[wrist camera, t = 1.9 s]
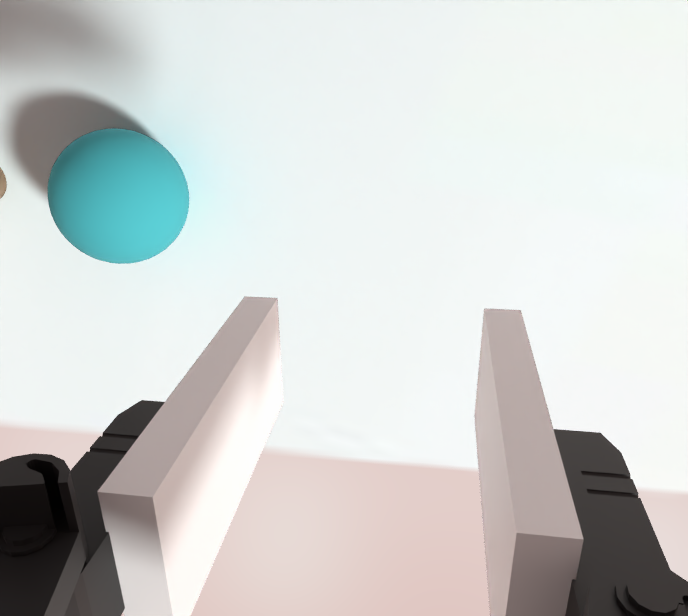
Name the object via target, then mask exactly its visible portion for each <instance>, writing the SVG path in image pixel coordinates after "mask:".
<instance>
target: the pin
mask: <svg viewBox="0 0 688 616" xmlns="http://www.w3.org/2000/svg"><path fill="white" fill-rule="evenodd" d="M5 191H6V178H5V175H4V173H3V171H2V169H1V168H0V198H2V196H3V195H4V194H5Z"/></svg>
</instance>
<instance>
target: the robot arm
mask: <svg viewBox="0 0 688 616" xmlns="http://www.w3.org/2000/svg"><path fill="white" fill-rule="evenodd" d="M282 404H283V387H282V369H281V352H280V335H279V317H278V300H277V298H263V297H244V298H243V299H242V301H241V302H240V303H239V305H238V306H237V307H236V309H235V310H234V311H233V313H232V314H231V315H230V317H229V318H228V319H227V321H226V322H225V323H224V325H223V326H222V327H221V329H220V330H219V331H218V333H217V334H216V335H215V337H214V338H213V339H212V340H211V342H210V343H209V344H208V346H207V347H206V348H205V350H204V351H203V352H202V354H201V355H200V356H199V358H198V359H197V360H196V362H195V363H194V364H193V366H192V367H191V368H190V370H189V371H188V372H187V374H186V375H185V376H184V378H183V379H182V380H181V382H180V383H179V384H178V386H177V387H176V388H175V390H174V391H173V392H172V393H171V395H170V396H169V397H168V399H167V400H166V401H165V402H157V401H144V400H141V401H140V402H138V403H137V404H135V405H133V406H132V407H130V408H129V409H127V410H125V411H124V412H122V413H120V414H119V415H118V416H117V417H116V418H115V419H114V420H113V422H112V423H111V424H110V425H109V426H108V427H107V429H106V430H105V431H104V432H103V436H102V437H101V436H100V437H99V438H98V439H97V440H96V441H95V443H94V444H93V445H92V446H91V447H90V452H86V453H85V454H84V456H83V457H82V458H81V459H80V460H79V461H78V463H77V464H76V465H75V466H74V467H73V468H72V470H71V471H70V469H69V468H68V466H67V465H66V463H65V461H64V460H62V459H60V458H57V457H55V456H53V455H47V454H28V455H22V456H16V457H12V458H9V459H6V460H4V461H1V462H0V616H121V614H122V613H124V616H191V614H192V611H193V609H194V607H195V604H196V602H197V600H198V597H199V595H200V593H201V590H202V588H203V586H204V584H205V581H206V579H207V577H208V574H209V572H210V570H211V567H212V565H213V563H214V561H215V558H216V556H217V554H218V551H219V549H220V547H221V545H222V542H223V540H224V538H225V535H226V533H227V531H228V528H229V526H230V524H231V521H232V519H233V517H234V514H235V512H236V510H237V508H238V505H239V503H240V501H241V499H242V496H243V494H244V492H245V489H246V487H247V485H248V482H249V480H250V478H251V476H252V473H253V471H254V469H255V466H256V464H257V462H258V459H259V457H260V455H261V453H262V450H263V448H264V446H265V443H266V441H267V439H268V436H269V434H270V432H271V430H272V427H273V425H274V423H275V420H276V418H277V416H278V413H279V411H280V409H281V407H282ZM475 429H476V442H477V454H478V467H479V480H480V491H481V505H482V516H483V517H482V518H483V530H484V543H485V555H486V568H487V580H488V593H489V606H490V616H688V582H687V581H686V580H684V579H682V578H681V577H680V576H678V575H676V574H675V573H674V572H672V571H671V570H670V568H669V566H668V563H667V561H666V558H665V556H664V554H663V551H662V549H661V547H660V545H659V542H658V539H657V537H656V535H655V532H654V530H653V528H652V526H651V523H650V520H649V518H648V516H647V513H646V511H645V509H644V506H643V504H642V501H641V499H640V498H638V492H637V489H636V487H635V485H634V482H633V480H632V479H630V473H629V470H628V468H627V466H626V463H625V461H624V459H623V456H622V454H621V452H620V451H619V450H618V449H617V448H616V447H615V446H613V445H612V444H611V443H610V442H609V441H608V440H607V439H606V438H605V437H604V436H603V435H602V434H601V433H596V432H583V431H569V430H556V429H553V426H552V422H551V419H550V415H549V412H548V408H547V404H546V401H545V397H544V393H543V390H542V386H541V382H540V379H539V375H538V372H537V368H536V364H535V361H534V357H533V353H532V350H531V346H530V342H529V339H528V335H527V332H526V328H525V324H524V321H523V317H522V313H521V310H504V309H484V316H483V327H482V339H481V350H480V361H479V372H478V383H477V394H476V405H475Z"/></svg>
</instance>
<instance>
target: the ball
mask: <svg viewBox="0 0 688 616" xmlns="http://www.w3.org/2000/svg"><path fill="white" fill-rule="evenodd" d="M48 202H49V207H50V211H51V214H52V217H53V219H54V221H55V223H56V225H57V227H58V229H59V230H60V232H61V233H62V234H63V235H64V237H65V238H66V239H67V240H68V241H69V242H70V243H71V244H72V245H73V246H75V247H76V248H77V249H79V250H80V251H82V252H83V253H85V254H87V255H89V256H91V257H93V258H95V259H98V260H102V261H106V262H110V263H118V264H120V263H135V262H140V261H143V260H146V259H149V258H151V257H153V256H156V255H157V254H159V253H161V252H162V251H163V250H165V249H166V248H167V247H168V246H169V245H170V244H171V243H172V242H173V241H174V240H175V239H176V238H177V236H178V235H179V233H180V231H181V230H182V228H183V226H184V224H185V221H186V218H187V214H188V208H189V191H188V186H187V182H186V179H185V176H184V174H183V171H182V169H181V168H180V166H179V164H178V162H177V161H176V160H175V158H174V157H173V156H172V155H171V154H170V152H169V151H168V150H167V149H166V148H164V147H163V146H162V145H161V144H160V143H158V142H157V141H155V140H154V139H152V138H150V137H148V136H146V135H144V134H141V133H138V132H136V131H131V130H127V129H117V128H112V129H102V130H97V131H93V132H91V133H88V134H85V135H83V136H81V137H79V138H78V139H76V140H75V141H73V142H72V143H71V144H70V145H68V146H67V147H66V148H65V149H64V150H63V151H62V153H61V154H60V155H59V157H58V158H57V160H56V162H55V163H54V165H53V168H52V170H51V173H50V177H49V181H48Z"/></svg>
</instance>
